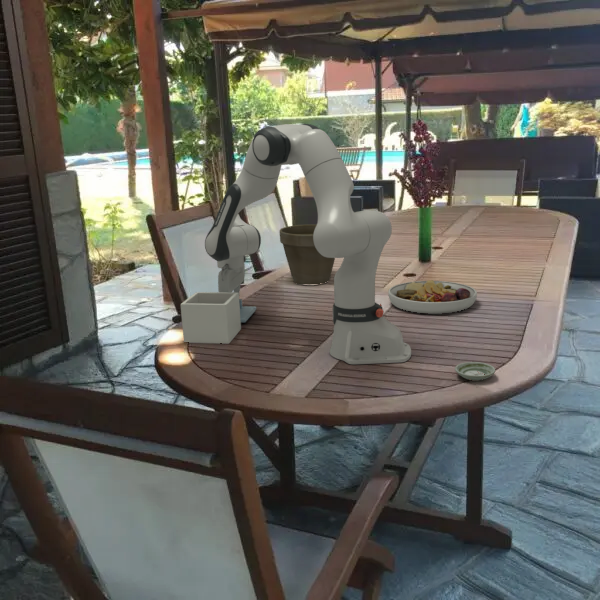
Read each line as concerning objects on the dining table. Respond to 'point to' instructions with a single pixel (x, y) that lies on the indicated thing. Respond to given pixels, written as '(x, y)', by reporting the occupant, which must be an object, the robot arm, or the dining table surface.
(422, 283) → the bowl
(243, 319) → the lid
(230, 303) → the tub
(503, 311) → the dining table surface
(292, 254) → the plant pot
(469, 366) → the saucer
